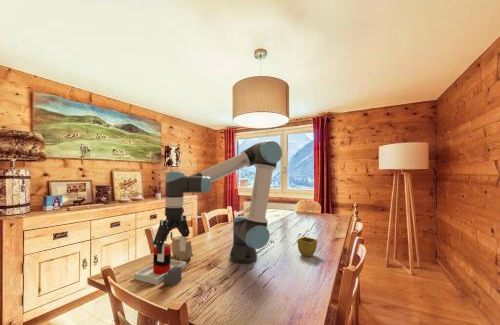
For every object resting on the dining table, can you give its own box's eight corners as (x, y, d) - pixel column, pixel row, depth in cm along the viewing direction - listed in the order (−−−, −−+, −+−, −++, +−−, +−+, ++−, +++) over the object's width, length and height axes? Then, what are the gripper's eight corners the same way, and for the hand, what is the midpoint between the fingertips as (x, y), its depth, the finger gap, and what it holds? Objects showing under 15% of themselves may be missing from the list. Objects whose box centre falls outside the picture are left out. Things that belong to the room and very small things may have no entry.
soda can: (153, 268, 109) (153, 243, 109) (169, 266, 112) (170, 242, 112) (152, 275, 102) (153, 248, 102) (170, 272, 105) (171, 246, 105)
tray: (186, 267, 113) (186, 262, 113) (156, 284, 95) (156, 278, 95) (165, 262, 118) (165, 258, 118) (134, 278, 100) (134, 273, 101)
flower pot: (318, 255, 131) (317, 239, 131) (310, 259, 124) (310, 243, 125) (304, 251, 137) (304, 236, 137) (296, 255, 130) (296, 239, 131)
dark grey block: (181, 280, 99) (181, 266, 100) (173, 286, 95) (173, 271, 95) (172, 278, 101) (172, 265, 101) (163, 283, 97) (164, 269, 97)
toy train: (182, 263, 117) (183, 244, 118) (171, 254, 131) (171, 236, 131) (192, 261, 121) (193, 242, 121) (180, 252, 134) (180, 235, 135)
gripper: (185, 202, 112) (184, 246, 111) (144, 209, 89) (142, 264, 88) (198, 203, 109) (196, 248, 108) (159, 211, 86) (156, 268, 85)
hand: (172, 255), depth 98 cm, fingers open, 13 cm apart
